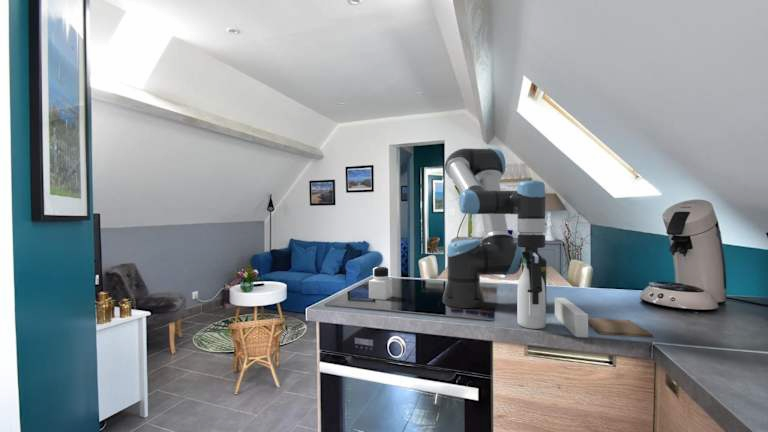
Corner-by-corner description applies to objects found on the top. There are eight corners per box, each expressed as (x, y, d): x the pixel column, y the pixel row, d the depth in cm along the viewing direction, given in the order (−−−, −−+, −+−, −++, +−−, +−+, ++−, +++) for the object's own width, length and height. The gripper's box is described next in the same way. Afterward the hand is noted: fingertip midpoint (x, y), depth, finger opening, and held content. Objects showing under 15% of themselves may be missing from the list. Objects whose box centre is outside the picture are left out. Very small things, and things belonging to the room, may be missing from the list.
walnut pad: (599, 334, 95) (599, 331, 95) (582, 320, 108) (582, 317, 108) (653, 337, 92) (653, 334, 92) (629, 322, 105) (629, 320, 105)
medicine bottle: (392, 296, 140) (392, 266, 140) (385, 300, 134) (385, 269, 134) (376, 294, 143) (376, 265, 143) (368, 298, 137) (368, 268, 137)
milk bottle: (547, 331, 98) (546, 259, 98) (517, 327, 100) (517, 258, 101) (544, 323, 105) (544, 256, 105) (517, 320, 108) (517, 255, 108)
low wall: (575, 336, 93) (575, 314, 93) (554, 315, 113) (554, 297, 113) (588, 337, 92) (588, 314, 92) (564, 316, 112) (564, 297, 112)
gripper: (554, 235, 92) (554, 322, 92) (536, 232, 112) (536, 303, 112) (524, 235, 93) (524, 320, 93) (512, 232, 114) (512, 302, 114)
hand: (531, 311), depth 103 cm, fingers open, 8 cm apart
